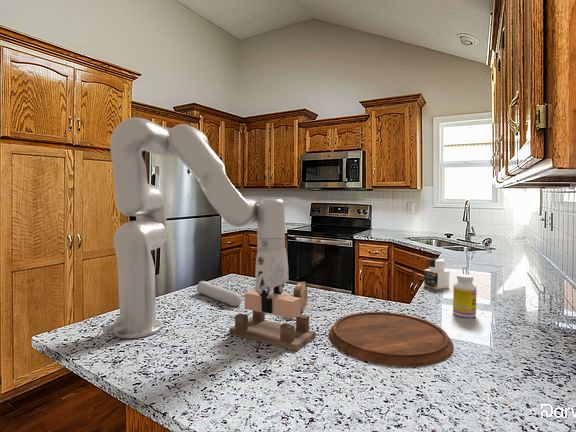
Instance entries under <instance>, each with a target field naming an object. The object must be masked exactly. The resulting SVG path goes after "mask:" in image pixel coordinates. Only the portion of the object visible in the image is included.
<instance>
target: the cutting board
mask: <svg viewBox="0 0 576 432" xmlns="http://www.w3.org/2000/svg"><path fill="white" fill-rule="evenodd" d="M328 336H329V337H328V338H329V340H330V342H331V343H332V345H334V346H335V347H336V348H337V349H338V350H339V351H341V352H344V353H345V354H347V355H348V356H350V357H353V358H356V359H359V360H363V361H366V362H369V363H372V364H374V363H375V364H378V365H384V366H390V367H393V366H394V367H409V368H410V367H412V368H413V367H423V366H430V365H434V364H437V363H441V362H443V361H445V360H447V359H448V358H450V357H451V355H453V353H454V347H455V346H454V343H453V341H452V339H451V338H450V336H449V335H448V334H447V332H446V330H444V329H443V328H442V327H440V326H438V325H436V324H434V323H433V322H430V321H428V320H426V319H422V318H420V317H416V316H412V315H408V314H402V313H396V312H384V311H383V312H382V311H366V312H365V311H364V312H357V313H352V314H347V315H344V316H342V317H341V318H338V319H337V320H336V321H335V322H334V324H333V325H332V326H331V328H330V329H329V331H328Z"/></svg>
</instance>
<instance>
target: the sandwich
mask: <svg viewBox="0 0 576 432" xmlns="http://www.w3.org/2000/svg"><path fill="white" fill-rule="evenodd" d="M292 294H293V295H292V297H298V298H301V313H303V312H304V311H305V309H306V307H307V305H308V285H307V281H298V282H297V284H296V285H295V287H294V289H293V292H292Z"/></svg>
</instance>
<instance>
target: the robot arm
mask: <svg viewBox="0 0 576 432" xmlns="http://www.w3.org/2000/svg"><path fill="white" fill-rule="evenodd" d="M109 145H110V146H109V147H110V153H111V154H110V155H111V161H112V169H113V182H114V183H113V184H114V196H115V205H116V208H117V210H118V212H119V213H121V214H122V215H124V216H128V217H135V218H136V220H131V221H127V222H125V223H123V224H121V225H120V226H119V227H117V229H116V231H115V233H114V236H113V247H114V251H115V254H116V260H117V269H118V270H117V273H118V275H117V276H118V296H119V297H118V298H119V300H118V301H119V317H116V318H115V321H114V322H113V323H112V324H108V325H105V326H104V325H103V326H102V329H101V330H102V333H103V334H104V335H105V334H109V333H111V332H112V333H113V334H114V336H115V337H117V338H120V339H138V338H144V337H148V336H151V335H154V334H156V333H157V332H159V331H160V330H161V329H162V326H163V325H162V322H161V321H160V320H158V319H157V314H156V313H157V312H156V311H157V309H156V305H157V304H156V275H155V272H156V270H155V263H154V259H153V256H152V252H151V251H153V250H157V249H159V248H160V247H162V246H163V245H164V244H165V243H166V240H167V237H168V225H167V211H166V201H165V198H164V197H165V196H164V195H163V193H162V191H161V190H160V188H158V186H156V185H153V184H151V183H148V176H147V174H148V173H147V166H146V163H145V160H144V158H143V154H142V152H144V151H145V152H147V153H150V154H155V155H159V156H166V157H168V156H170V157H175V158H178V159H179V160H180V161H181V162H182V163H183V165H184V166H185V167H186V169H188V171H189V172H190V173H191V174H192V176H193V177H194V178H195V179H196V180H197V182H198V183H199V187H200V188H201V189H202V191H203V194H204V195H205V197H206V199H207V200H208V201H209V203H210V204H211V206H212V208H213V209H215V211H216V212H217V213H218V214H219V215H220V217H222V219H223V220H224V221H225V222H226V223H227V224H229V225H230V226H232V227H235V228H241V227H242V228H243V227H245V226H249V225H255V224H256V225H257V236H256V237H257V251H256V258H255V272H254V273H255V287H254V290H255V291H256V292H257V293H259V295H260V298H261V307H262V312H265V314H267V313H272V298H271V293H275V294H280V295H283V292H284V286H285V285H286V283H288V281H289V262H288V261H289V260H288V253H287V249H286V228H285V227H286V224H285V223H286V220H285V219H286V218H285V217H286V216H285V215H286V209H285V207H286V206H285V201H284V200H283V199H281V198H264V199H263V198H262V199H254V198H253V199H252V198H245V197H243V196H242V194H241V193H240V192H239V191H238V190H237V189H236V188H235V186H234V185H233V184H232V182H231V181H230V179H229V178H228V176H227V174H226V168H225V167H226V166H225V164H224V162H223V161H222V159H220V157H219V156H218V154H217V153H216V152H215V151H214V150H213V149H212V148H211V146H210V145H209V140H208V138H207V136H206V135H205V133H203V132H202V131H200V130H199V129H197V128H195V127H194V126H191V125H190V124H186V123H181V124H176V125H175V126H173V127H166V126H162V125H160V124H157V123H156V122H154V121H152V120H149V119H146V118H142V117H129V118H126V119H124V120H122V121H121V122H119V124H117V125H116V127H115V128H114V129H113V132H112V135H111V137H110V144H109Z"/></svg>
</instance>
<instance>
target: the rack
mask: <svg viewBox="0 0 576 432" xmlns="http://www.w3.org/2000/svg"><path fill="white" fill-rule="evenodd" d="M265 317H266V313H263V312H258V311H253V310H252V317H250V318H249V315H248V314H244V313H240V312H239V313H237V314H235V315H234V325H233V326H231V327H229V334H231V335H234V336H239V337H242V338H244V339H245V338H246V339H249V340H254V341H257V342H261V343H265V344H269V345H272V346H276V347H280V348H284V349H287V350H290V351H291V350H292V351H294V352H298V351H299V350H301V349H302V348H304V347H305V346H306V345H307V344H309V343H310V342H311V341H313V340H314V339H315V338H316V337H317V336H316V331H314V330H310V315H304V314H301V315H299V316H297V317H295V325H294V324H290V323H286V322H285V323H284V322H283V323H278V322H273V321H268V320H265V319H266V318H265Z"/></svg>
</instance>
